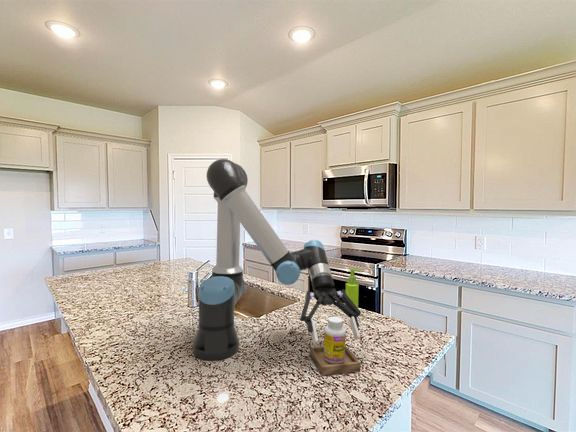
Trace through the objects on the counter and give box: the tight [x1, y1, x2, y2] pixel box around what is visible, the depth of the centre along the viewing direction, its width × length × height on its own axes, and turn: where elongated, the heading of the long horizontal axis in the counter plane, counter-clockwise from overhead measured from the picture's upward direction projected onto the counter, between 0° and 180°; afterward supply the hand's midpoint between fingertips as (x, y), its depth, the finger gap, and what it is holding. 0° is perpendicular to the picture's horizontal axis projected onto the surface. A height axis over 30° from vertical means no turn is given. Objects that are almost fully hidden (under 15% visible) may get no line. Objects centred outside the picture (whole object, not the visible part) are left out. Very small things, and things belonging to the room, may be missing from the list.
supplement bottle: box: [323, 316, 347, 364], centre depth 93 cm, size 7×7×13 cm
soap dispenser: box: [344, 268, 362, 309], centre depth 136 cm, size 6×7×20 cm
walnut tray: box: [309, 345, 361, 377], centre depth 93 cm, size 12×12×2 cm
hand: (337, 340), depth 90 cm, fingers open, 13 cm apart
